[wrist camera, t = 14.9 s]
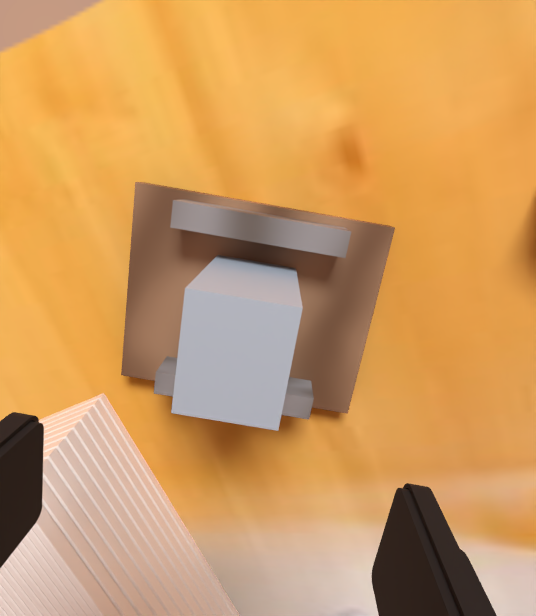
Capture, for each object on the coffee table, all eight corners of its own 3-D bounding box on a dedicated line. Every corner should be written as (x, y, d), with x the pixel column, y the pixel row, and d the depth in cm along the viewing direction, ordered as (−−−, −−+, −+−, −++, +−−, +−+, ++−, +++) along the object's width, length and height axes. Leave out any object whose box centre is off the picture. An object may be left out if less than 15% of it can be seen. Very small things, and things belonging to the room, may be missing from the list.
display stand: (388, 225, 26) (406, 232, 22) (344, 402, 30) (353, 434, 26) (143, 182, 26) (119, 181, 22) (129, 366, 30) (106, 392, 26)
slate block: (295, 268, 26) (302, 308, 17) (279, 354, 27) (278, 430, 19) (217, 254, 26) (185, 288, 17) (206, 342, 27) (171, 413, 19)
